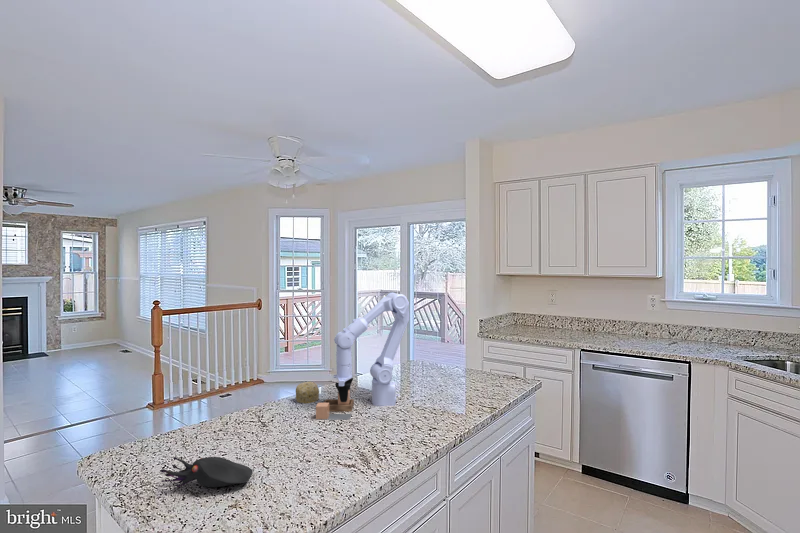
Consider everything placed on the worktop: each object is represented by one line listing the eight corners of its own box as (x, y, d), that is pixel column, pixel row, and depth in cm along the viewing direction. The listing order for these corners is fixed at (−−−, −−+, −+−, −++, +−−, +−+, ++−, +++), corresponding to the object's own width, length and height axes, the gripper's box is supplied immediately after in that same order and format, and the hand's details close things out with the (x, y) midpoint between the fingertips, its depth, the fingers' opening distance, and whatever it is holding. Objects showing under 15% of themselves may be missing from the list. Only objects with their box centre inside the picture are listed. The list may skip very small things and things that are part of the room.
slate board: (351, 416, 154) (351, 413, 154) (349, 421, 149) (349, 419, 148) (319, 416, 154) (319, 414, 154) (315, 422, 149) (315, 419, 149)
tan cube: (329, 415, 153) (329, 402, 153) (327, 419, 149) (327, 406, 149) (318, 415, 153) (318, 402, 153) (316, 419, 149) (315, 406, 149)
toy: (166, 471, 112) (182, 436, 112) (241, 499, 114) (256, 464, 114) (147, 492, 102) (164, 454, 102) (230, 522, 104) (246, 484, 104)
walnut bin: (353, 406, 164) (353, 399, 163) (351, 413, 157) (351, 405, 156) (325, 407, 164) (325, 399, 164) (321, 413, 157) (321, 405, 157)
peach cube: (350, 401, 162) (349, 389, 162) (348, 405, 158) (348, 393, 158) (339, 401, 162) (339, 390, 162) (337, 405, 158) (337, 393, 158)
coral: (316, 396, 176) (316, 378, 176) (321, 403, 168) (320, 384, 168) (294, 399, 173) (293, 381, 173) (297, 407, 164) (297, 387, 164)
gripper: (336, 359, 167) (337, 393, 167) (330, 368, 153) (330, 406, 153) (354, 359, 167) (355, 393, 167) (349, 368, 152) (350, 406, 153)
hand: (344, 399), depth 160 cm, fingers closed on peach cube, 4 cm apart
